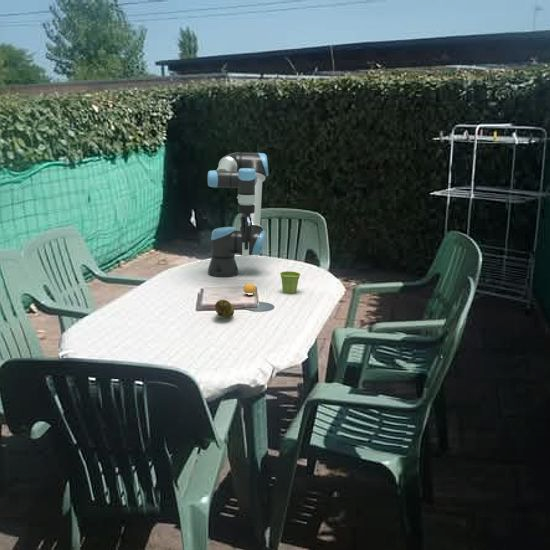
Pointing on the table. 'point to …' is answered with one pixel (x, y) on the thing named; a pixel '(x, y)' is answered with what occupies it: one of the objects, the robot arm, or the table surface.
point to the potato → (224, 308)
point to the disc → (262, 307)
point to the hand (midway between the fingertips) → (245, 256)
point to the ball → (249, 288)
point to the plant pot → (289, 281)
